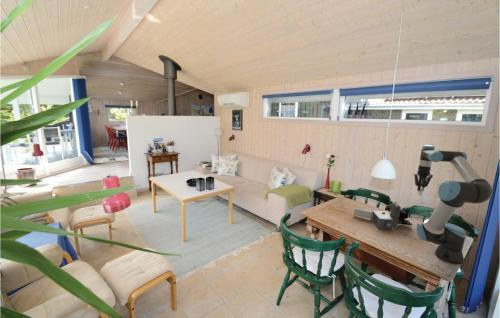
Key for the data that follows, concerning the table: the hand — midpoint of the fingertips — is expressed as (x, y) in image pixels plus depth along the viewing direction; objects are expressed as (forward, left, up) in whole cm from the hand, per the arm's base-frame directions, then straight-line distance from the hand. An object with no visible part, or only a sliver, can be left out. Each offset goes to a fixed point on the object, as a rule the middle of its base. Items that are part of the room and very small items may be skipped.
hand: (419, 194), depth 185 cm
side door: (+24, +31, -34) cm, 52 cm away
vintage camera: (+15, +3, -35) cm, 38 cm away
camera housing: (+13, +18, -34) cm, 41 cm away
